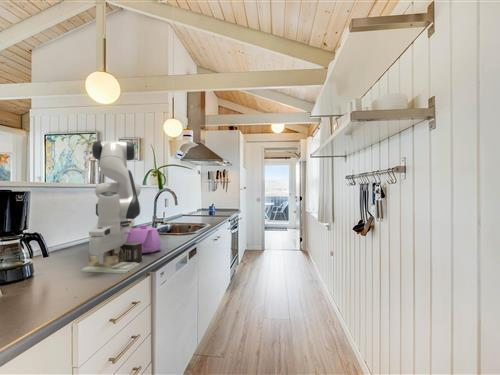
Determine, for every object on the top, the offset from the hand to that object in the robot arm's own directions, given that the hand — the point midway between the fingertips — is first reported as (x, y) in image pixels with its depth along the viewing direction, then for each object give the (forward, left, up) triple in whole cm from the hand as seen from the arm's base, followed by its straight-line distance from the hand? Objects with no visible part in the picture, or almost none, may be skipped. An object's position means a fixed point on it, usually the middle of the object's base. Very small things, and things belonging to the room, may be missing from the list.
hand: (109, 260), depth 114 cm
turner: (0, +1, -3) cm, 3 cm away
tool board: (0, +1, -4) cm, 4 cm away
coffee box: (-12, -8, +1) cm, 15 cm away
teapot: (-30, 0, -4) cm, 30 cm away
